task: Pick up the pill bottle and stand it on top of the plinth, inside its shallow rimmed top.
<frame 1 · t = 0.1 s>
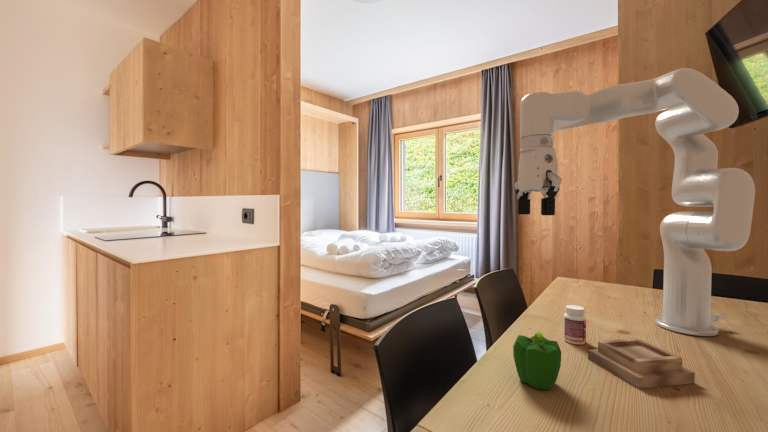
hand: (535, 214, 82), 31 cm above the table, fingers open, 9 cm apart
pill bottle: (574, 341, 81), on the table
plinth: (637, 370, 67), on the table
bell pepper: (535, 383, 62), on the table
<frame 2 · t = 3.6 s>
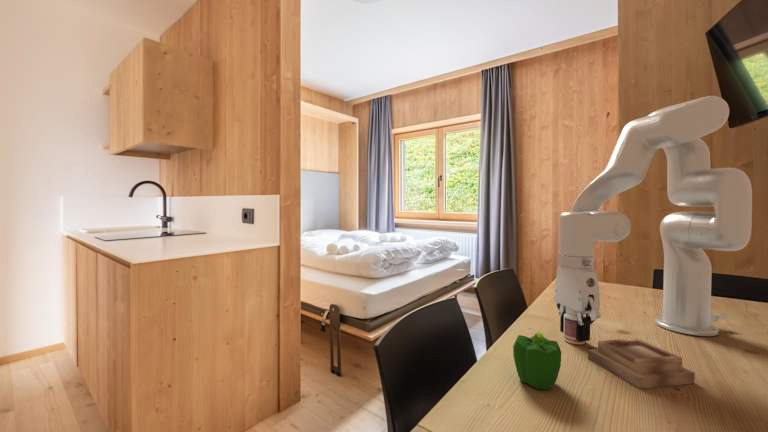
hand: (574, 335, 81), 1 cm above the table, fingers closed on pill bottle, 4 cm apart
pill bottle: (574, 341, 81), on the table, touching gripper
everything else where it was.
when the fingers open (5 cm above the table, at t = 9.3 s): pill bottle stays where it is, resting on plinth.
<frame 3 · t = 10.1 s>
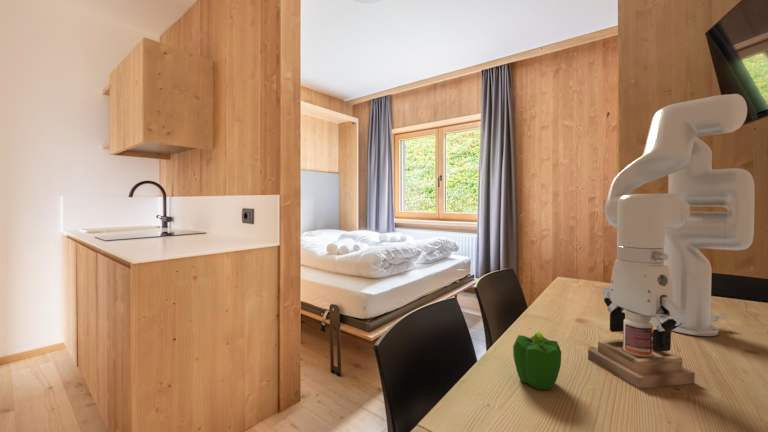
hand: (637, 340, 67), 6 cm above the table, fingers open, 9 cm apart
pill bottle: (637, 353, 67), point 3 cm above the table, touching plinth
everything else where it was.
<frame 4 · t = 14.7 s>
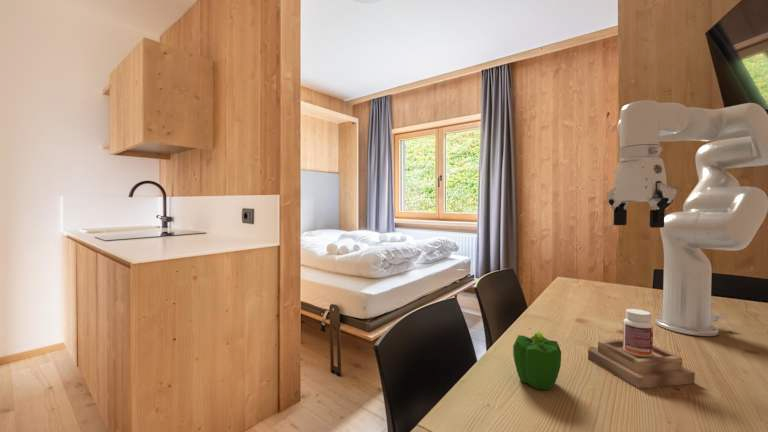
hand: (637, 226, 80), 28 cm above the table, fingers open, 9 cm apart
nothing on the table moved.
at the end: pill bottle inside the target area on the plinth (0.1 cm from its centre), point 3.3 cm above the plinth's base; pill bottle tilted 0°; the gripper is holding nothing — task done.
